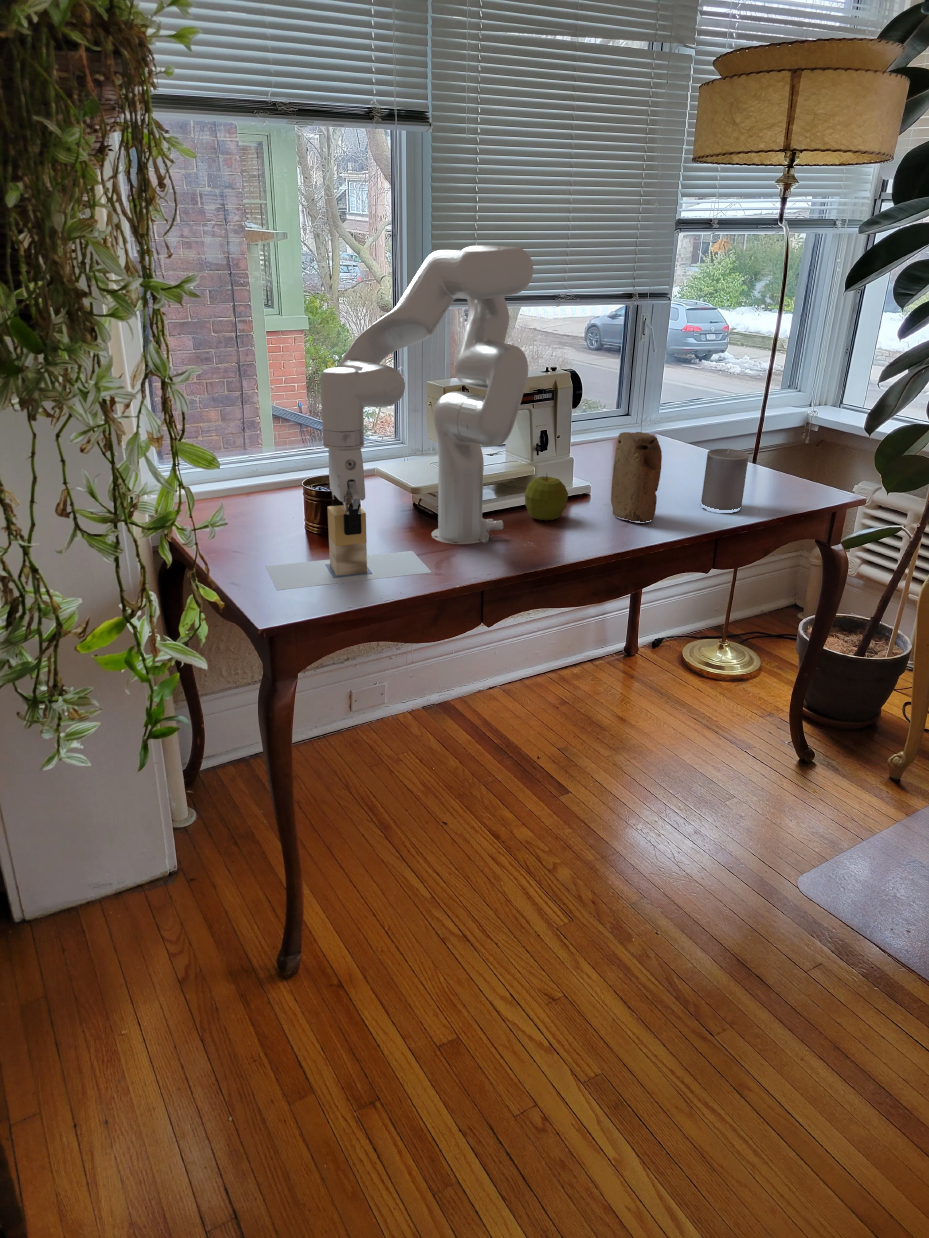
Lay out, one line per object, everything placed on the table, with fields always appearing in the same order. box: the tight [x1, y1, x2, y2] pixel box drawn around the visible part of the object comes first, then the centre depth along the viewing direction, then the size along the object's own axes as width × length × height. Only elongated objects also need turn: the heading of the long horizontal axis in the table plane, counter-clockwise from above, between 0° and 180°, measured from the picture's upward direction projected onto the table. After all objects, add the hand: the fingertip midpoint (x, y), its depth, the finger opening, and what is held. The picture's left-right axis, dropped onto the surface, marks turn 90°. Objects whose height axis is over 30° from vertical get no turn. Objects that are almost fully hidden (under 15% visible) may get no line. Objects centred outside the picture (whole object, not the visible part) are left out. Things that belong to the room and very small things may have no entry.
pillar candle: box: [700, 447, 750, 510], centre depth 223 cm, size 10×10×15 cm
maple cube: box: [328, 536, 368, 576], centre depth 179 cm, size 6×6×6 cm
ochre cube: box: [326, 505, 367, 546], centre depth 177 cm, size 6×6×6 cm
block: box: [610, 431, 663, 522], centre depth 213 cm, size 11×8×20 cm
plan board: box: [265, 550, 433, 591], centre depth 180 cm, size 30×13×1 cm, turn 110°
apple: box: [524, 473, 569, 522], centre depth 214 cm, size 10×10×11 cm
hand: (346, 526), depth 177 cm, fingers open, 9 cm apart
